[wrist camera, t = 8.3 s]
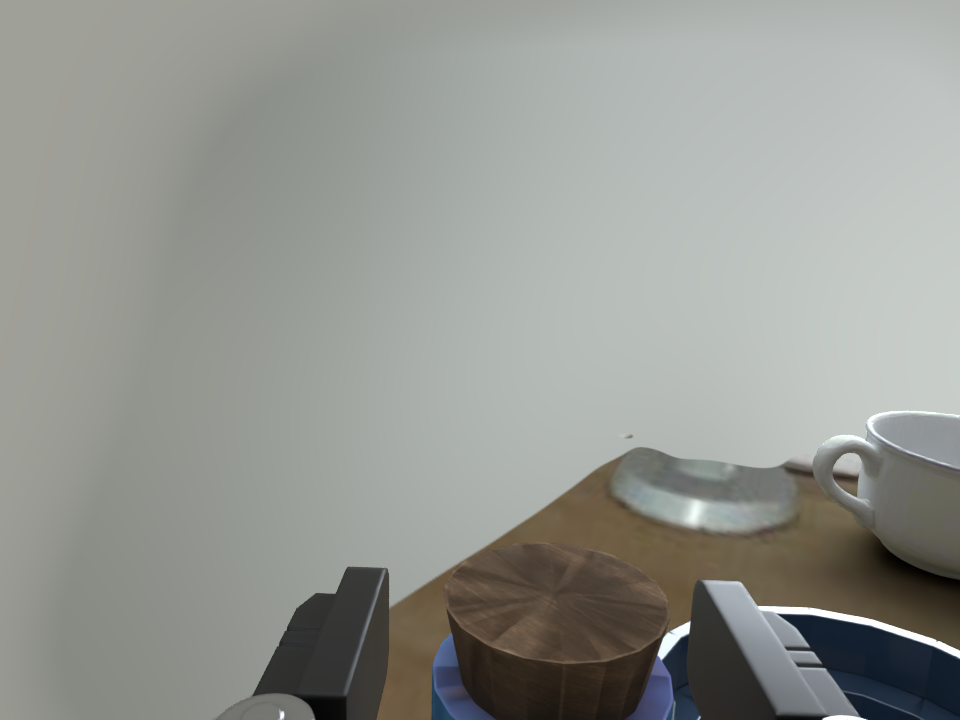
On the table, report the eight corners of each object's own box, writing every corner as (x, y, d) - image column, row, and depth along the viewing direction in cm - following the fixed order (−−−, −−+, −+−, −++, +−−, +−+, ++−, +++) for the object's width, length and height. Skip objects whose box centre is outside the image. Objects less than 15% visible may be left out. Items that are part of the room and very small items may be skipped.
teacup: (1003, 531, 47) (1025, 418, 46) (1101, 619, 37) (1133, 477, 35) (783, 507, 50) (796, 400, 49) (816, 582, 40) (834, 449, 39)
